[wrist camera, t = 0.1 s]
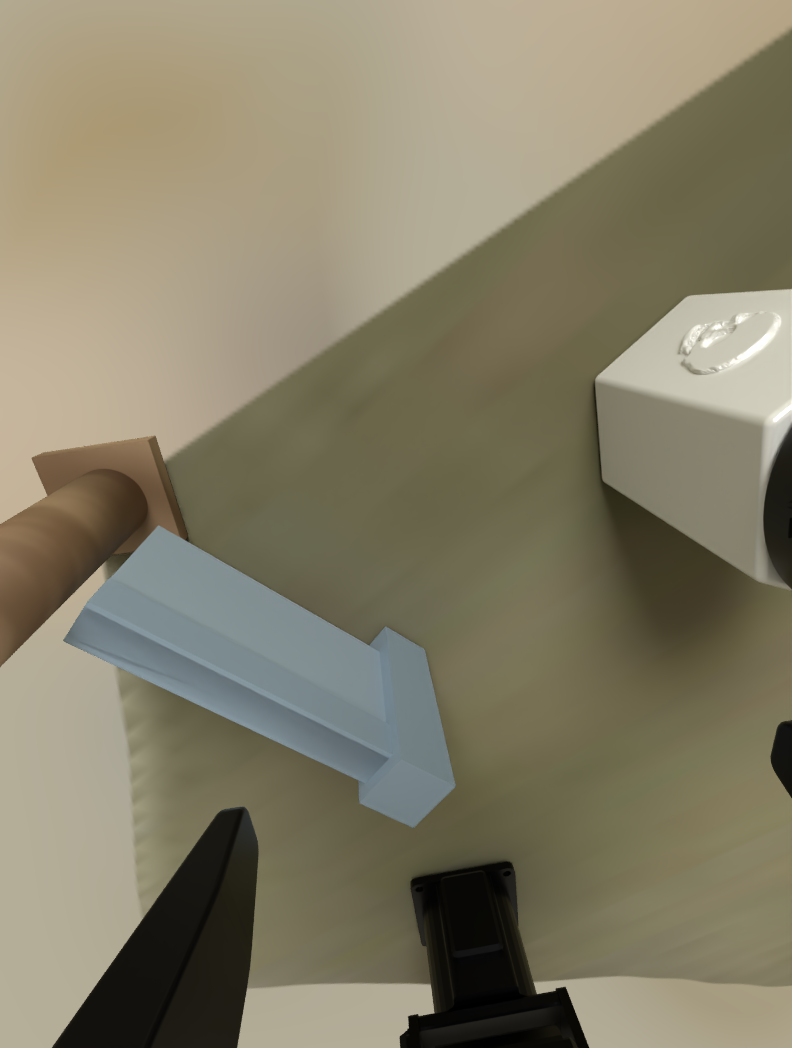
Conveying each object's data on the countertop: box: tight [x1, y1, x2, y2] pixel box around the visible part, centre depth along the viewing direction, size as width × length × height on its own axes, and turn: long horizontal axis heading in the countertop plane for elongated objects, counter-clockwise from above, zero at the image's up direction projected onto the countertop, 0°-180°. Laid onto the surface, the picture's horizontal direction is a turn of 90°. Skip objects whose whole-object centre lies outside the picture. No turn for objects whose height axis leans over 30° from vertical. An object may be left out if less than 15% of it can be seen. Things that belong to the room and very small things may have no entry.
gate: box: [63, 525, 456, 828], centre depth 19 cm, size 13×2×8 cm, turn 53°
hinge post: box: [0, 436, 188, 667], centre depth 16 cm, size 4×4×10 cm
